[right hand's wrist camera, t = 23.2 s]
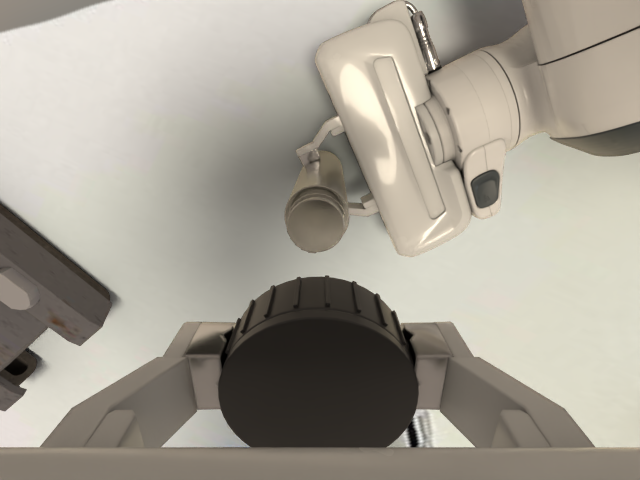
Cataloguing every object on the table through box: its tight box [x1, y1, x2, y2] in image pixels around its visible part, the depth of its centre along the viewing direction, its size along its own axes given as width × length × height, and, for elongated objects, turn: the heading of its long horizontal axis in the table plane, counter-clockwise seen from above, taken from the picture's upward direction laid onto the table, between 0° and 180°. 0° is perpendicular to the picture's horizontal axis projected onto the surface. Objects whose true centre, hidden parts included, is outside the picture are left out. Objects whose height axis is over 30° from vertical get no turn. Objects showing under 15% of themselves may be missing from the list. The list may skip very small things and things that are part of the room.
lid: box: [218, 276, 419, 448], centre depth 10 cm, size 5×5×2 cm
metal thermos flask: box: [284, 150, 350, 253], centre depth 29 cm, size 4×4×17 cm
